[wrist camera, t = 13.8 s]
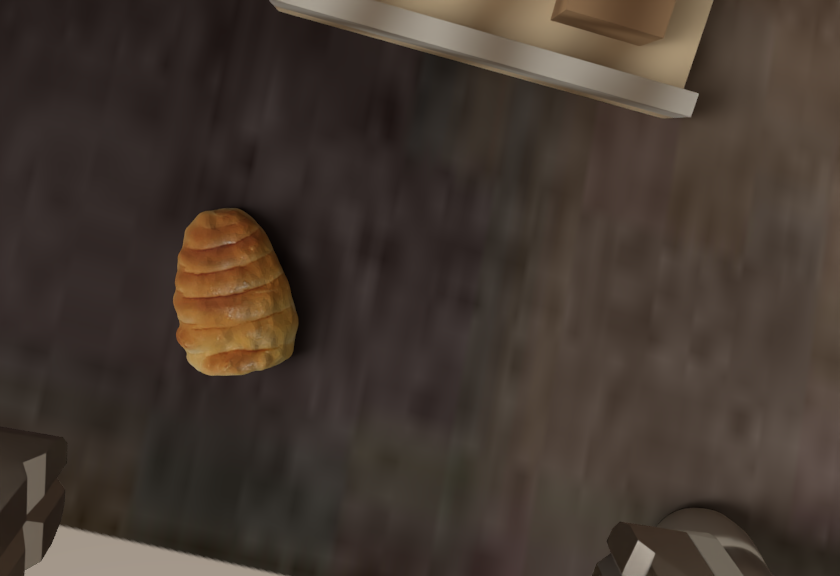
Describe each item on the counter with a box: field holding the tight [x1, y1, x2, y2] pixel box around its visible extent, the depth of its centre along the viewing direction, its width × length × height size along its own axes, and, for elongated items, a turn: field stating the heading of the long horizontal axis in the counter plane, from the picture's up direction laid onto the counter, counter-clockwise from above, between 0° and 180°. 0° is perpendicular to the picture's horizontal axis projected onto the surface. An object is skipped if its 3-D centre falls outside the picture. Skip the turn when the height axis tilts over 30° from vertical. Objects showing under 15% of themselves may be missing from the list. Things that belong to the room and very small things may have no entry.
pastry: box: [173, 208, 299, 376], centre depth 35 cm, size 9×7×4 cm
